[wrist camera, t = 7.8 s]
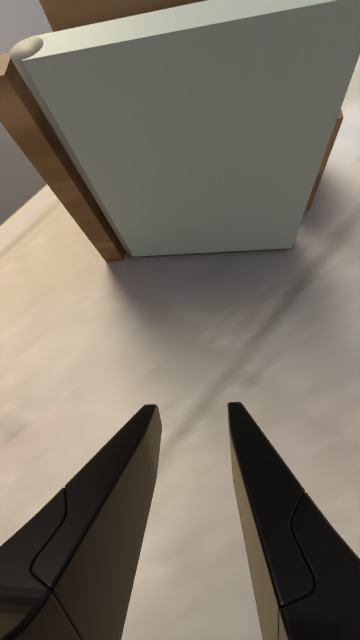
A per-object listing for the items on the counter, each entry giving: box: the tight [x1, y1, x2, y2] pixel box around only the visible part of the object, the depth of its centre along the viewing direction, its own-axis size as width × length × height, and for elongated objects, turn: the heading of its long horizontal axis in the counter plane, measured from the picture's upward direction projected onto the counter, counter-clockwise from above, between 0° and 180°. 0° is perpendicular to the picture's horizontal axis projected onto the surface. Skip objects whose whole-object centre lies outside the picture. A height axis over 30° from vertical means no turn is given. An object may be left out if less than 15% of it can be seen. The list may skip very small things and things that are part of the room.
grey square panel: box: [9, 0, 360, 257], centre depth 16 cm, size 2×13×13 cm, turn 87°
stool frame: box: [0, 0, 343, 261], centre depth 17 cm, size 10×16×13 cm, turn 89°
